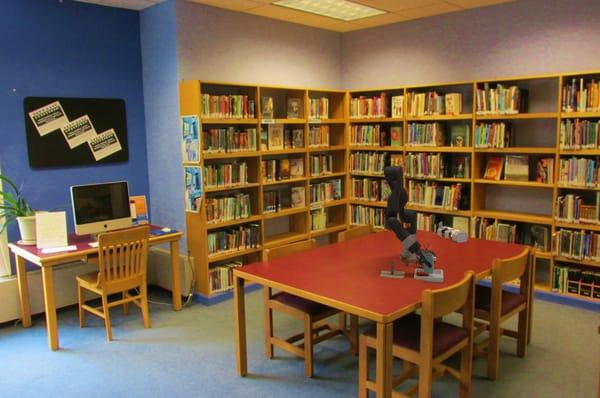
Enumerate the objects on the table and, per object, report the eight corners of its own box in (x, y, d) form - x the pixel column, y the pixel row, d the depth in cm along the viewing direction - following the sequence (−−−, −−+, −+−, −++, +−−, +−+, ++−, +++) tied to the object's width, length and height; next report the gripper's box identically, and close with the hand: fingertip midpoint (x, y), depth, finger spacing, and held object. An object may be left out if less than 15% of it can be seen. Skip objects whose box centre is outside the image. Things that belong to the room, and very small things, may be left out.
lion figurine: (398, 267, 315) (398, 253, 313) (401, 265, 319) (401, 251, 318) (420, 270, 307) (420, 256, 305) (423, 268, 311) (423, 254, 310)
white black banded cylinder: (437, 236, 398) (437, 220, 396) (448, 235, 401) (448, 219, 399) (456, 243, 374) (456, 226, 372) (467, 241, 377) (468, 224, 375)
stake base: (381, 272, 305) (381, 257, 303) (405, 273, 301) (405, 258, 300) (379, 279, 291) (379, 263, 290) (403, 280, 288) (403, 264, 286)
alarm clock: (421, 270, 306) (421, 245, 303) (416, 268, 311) (416, 243, 308) (436, 268, 309) (436, 243, 307) (431, 266, 314) (431, 241, 312)
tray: (415, 273, 301) (415, 268, 300) (442, 274, 296) (442, 269, 296) (414, 281, 285) (414, 276, 285) (443, 283, 281) (443, 277, 281)
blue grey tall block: (425, 270, 293) (425, 254, 292) (436, 271, 291) (436, 255, 289) (423, 273, 289) (423, 256, 288) (434, 274, 286) (435, 257, 285)
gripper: (413, 242, 284) (434, 264, 281) (418, 237, 297) (438, 258, 294) (404, 251, 287) (425, 273, 284) (409, 245, 300) (429, 266, 297)
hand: (431, 265), depth 289 cm, fingers closed on blue grey tall block, 5 cm apart
